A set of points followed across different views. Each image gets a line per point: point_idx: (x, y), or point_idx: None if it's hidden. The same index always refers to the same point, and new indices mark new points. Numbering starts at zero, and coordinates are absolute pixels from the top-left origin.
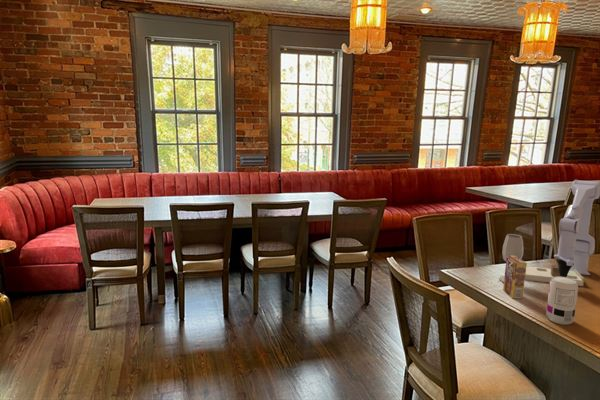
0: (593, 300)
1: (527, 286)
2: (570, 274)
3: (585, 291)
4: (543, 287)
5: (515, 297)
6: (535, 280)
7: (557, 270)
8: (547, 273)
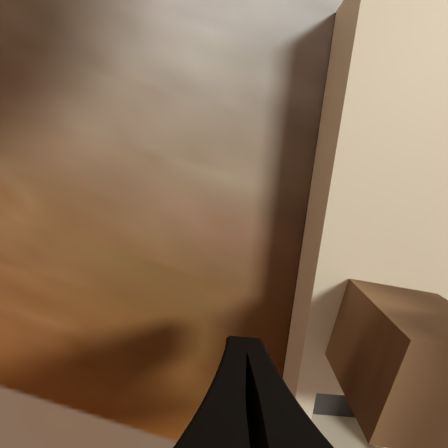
0: (39, 394)
1: (148, 8)
2: None
3: (181, 405)
4: (169, 155)
5: None
6: (319, 129)
7: (370, 364)
8: (424, 262)
